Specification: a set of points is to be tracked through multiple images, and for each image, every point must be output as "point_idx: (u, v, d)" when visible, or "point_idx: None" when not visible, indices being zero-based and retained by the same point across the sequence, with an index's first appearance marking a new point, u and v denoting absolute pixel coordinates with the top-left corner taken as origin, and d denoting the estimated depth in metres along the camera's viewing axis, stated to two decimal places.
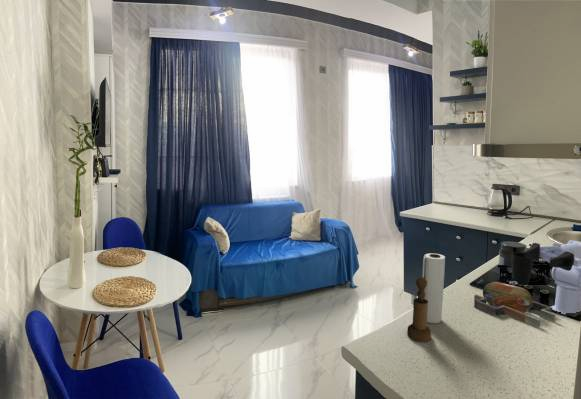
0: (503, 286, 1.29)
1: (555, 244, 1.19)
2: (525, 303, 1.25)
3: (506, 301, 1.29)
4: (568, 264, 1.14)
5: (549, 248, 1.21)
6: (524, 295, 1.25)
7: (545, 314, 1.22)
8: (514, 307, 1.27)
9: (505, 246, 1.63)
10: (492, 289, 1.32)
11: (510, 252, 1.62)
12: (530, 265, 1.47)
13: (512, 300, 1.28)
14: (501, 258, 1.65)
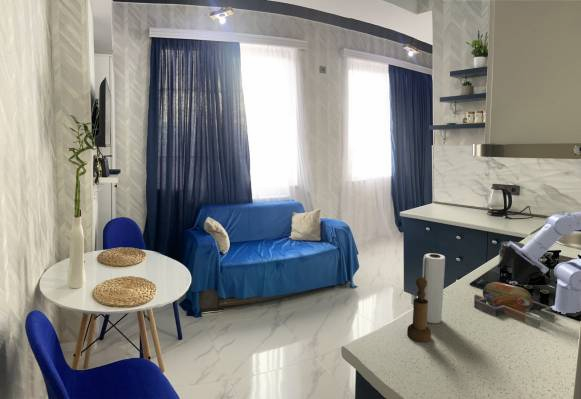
0: (503, 286, 1.29)
1: (523, 251, 1.24)
2: (525, 303, 1.25)
3: (506, 301, 1.29)
4: (537, 271, 1.23)
5: (521, 251, 1.27)
6: (524, 295, 1.25)
7: (545, 314, 1.22)
8: (514, 307, 1.27)
9: (505, 246, 1.63)
10: (492, 289, 1.32)
11: None
12: None
13: (512, 300, 1.28)
14: (501, 258, 1.65)
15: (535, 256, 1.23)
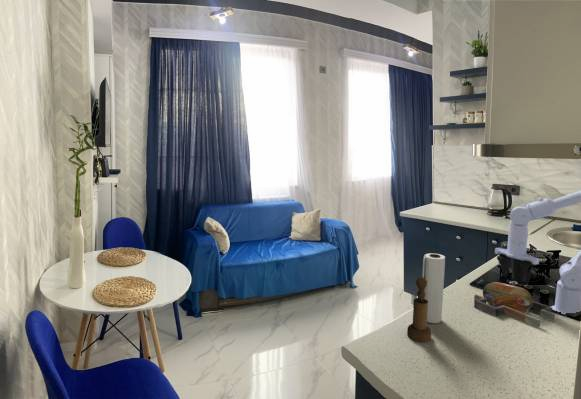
0: (503, 286, 1.29)
1: None
2: (525, 303, 1.25)
3: (506, 301, 1.29)
4: None
5: None
6: (524, 295, 1.25)
7: (545, 314, 1.22)
8: (514, 307, 1.27)
9: (505, 246, 1.63)
10: (492, 289, 1.32)
11: None
12: None
13: (512, 300, 1.28)
14: None
15: (521, 253, 1.30)
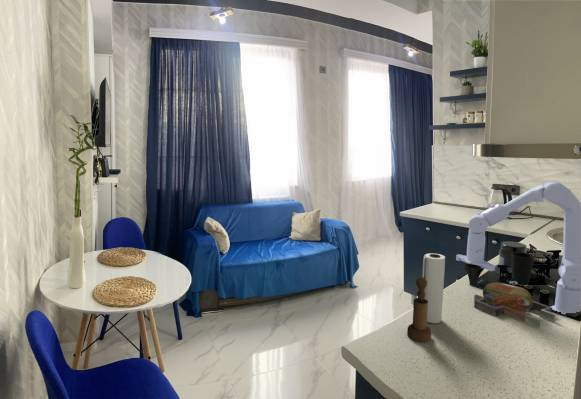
0: (503, 286, 1.29)
1: None
2: (525, 303, 1.25)
3: (506, 301, 1.29)
4: None
5: None
6: (524, 295, 1.25)
7: (545, 314, 1.22)
8: (514, 307, 1.27)
9: (505, 246, 1.63)
10: (492, 289, 1.32)
11: (510, 252, 1.62)
12: (530, 265, 1.47)
13: (512, 300, 1.28)
14: (501, 258, 1.65)
15: (478, 260, 1.36)
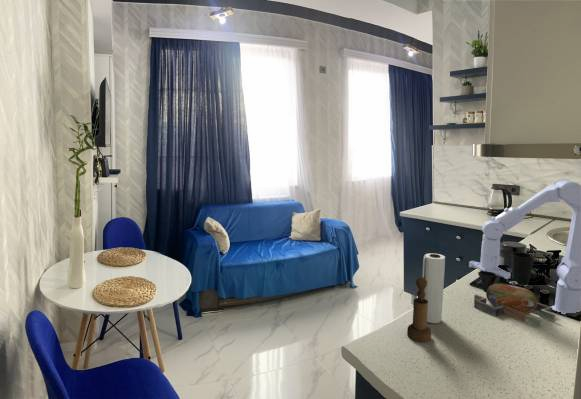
0: (507, 287, 1.28)
1: None
2: (529, 304, 1.24)
3: (510, 302, 1.28)
4: None
5: None
6: (528, 296, 1.24)
7: (545, 314, 1.22)
8: (518, 308, 1.26)
9: (505, 246, 1.63)
10: (495, 290, 1.31)
11: (510, 252, 1.62)
12: (530, 265, 1.47)
13: (515, 301, 1.27)
14: (501, 258, 1.65)
15: (493, 267, 1.31)
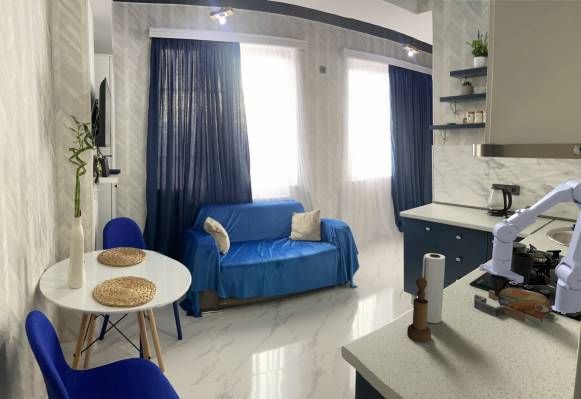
0: (520, 292, 1.25)
1: None
2: (543, 309, 1.20)
3: (523, 307, 1.24)
4: None
5: None
6: (542, 301, 1.20)
7: None
8: (531, 314, 1.22)
9: None
10: (508, 295, 1.27)
11: None
12: (530, 265, 1.47)
13: (529, 306, 1.23)
14: None
15: (505, 271, 1.27)
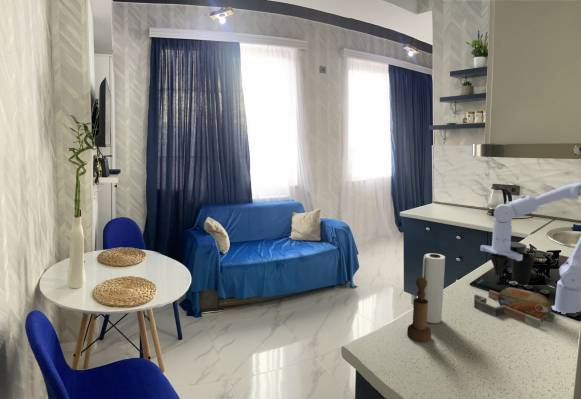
0: (520, 292, 1.25)
1: None
2: (543, 310, 1.20)
3: (523, 307, 1.24)
4: None
5: None
6: (542, 301, 1.20)
7: None
8: (531, 314, 1.22)
9: None
10: (508, 295, 1.27)
11: None
12: (530, 265, 1.47)
13: (529, 306, 1.23)
14: None
15: (505, 250, 1.33)
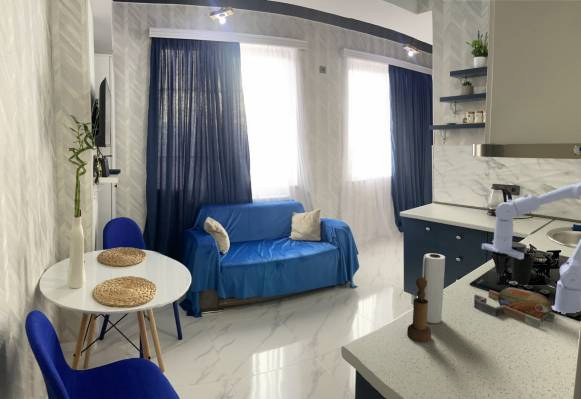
0: (520, 292, 1.25)
1: None
2: (543, 310, 1.20)
3: (523, 307, 1.24)
4: None
5: None
6: (542, 301, 1.20)
7: None
8: (531, 314, 1.22)
9: None
10: (508, 295, 1.27)
11: None
12: (530, 265, 1.47)
13: (529, 306, 1.23)
14: None
15: (506, 249, 1.33)
